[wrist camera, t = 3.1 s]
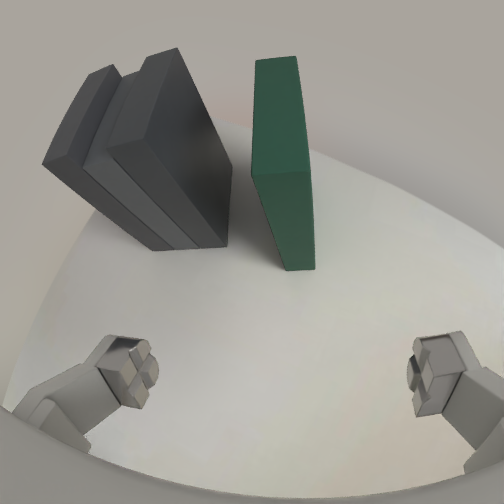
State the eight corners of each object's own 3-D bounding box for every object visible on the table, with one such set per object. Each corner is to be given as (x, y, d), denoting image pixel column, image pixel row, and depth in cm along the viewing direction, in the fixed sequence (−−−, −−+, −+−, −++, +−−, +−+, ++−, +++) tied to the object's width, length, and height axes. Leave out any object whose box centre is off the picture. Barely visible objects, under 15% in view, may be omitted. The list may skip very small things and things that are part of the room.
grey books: (232, 166, 30) (175, 41, 16) (226, 247, 27) (138, 132, 13) (166, 175, 32) (88, 74, 17) (152, 251, 29) (41, 164, 14)
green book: (309, 179, 28) (296, 55, 15) (315, 269, 25) (310, 170, 12) (283, 180, 28) (255, 59, 15) (285, 271, 25) (250, 175, 12)
